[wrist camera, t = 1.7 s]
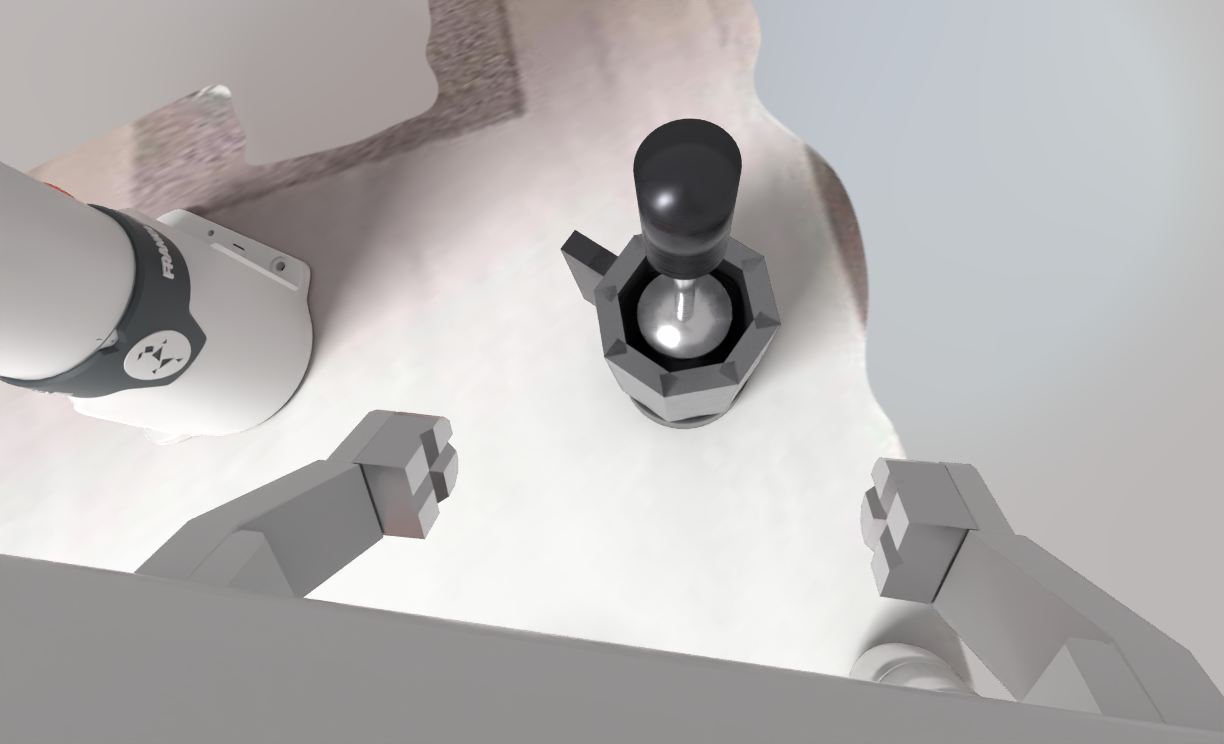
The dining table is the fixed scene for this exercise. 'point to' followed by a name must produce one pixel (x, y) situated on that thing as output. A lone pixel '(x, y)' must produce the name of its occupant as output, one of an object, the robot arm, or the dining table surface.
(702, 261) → the plunger
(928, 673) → the plastic bottle
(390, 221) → the dining table surface
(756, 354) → the press carafe
